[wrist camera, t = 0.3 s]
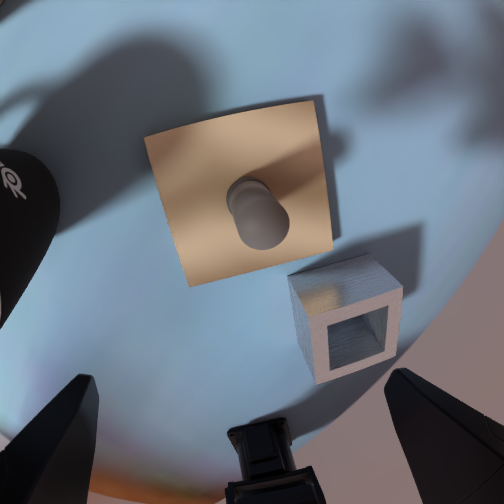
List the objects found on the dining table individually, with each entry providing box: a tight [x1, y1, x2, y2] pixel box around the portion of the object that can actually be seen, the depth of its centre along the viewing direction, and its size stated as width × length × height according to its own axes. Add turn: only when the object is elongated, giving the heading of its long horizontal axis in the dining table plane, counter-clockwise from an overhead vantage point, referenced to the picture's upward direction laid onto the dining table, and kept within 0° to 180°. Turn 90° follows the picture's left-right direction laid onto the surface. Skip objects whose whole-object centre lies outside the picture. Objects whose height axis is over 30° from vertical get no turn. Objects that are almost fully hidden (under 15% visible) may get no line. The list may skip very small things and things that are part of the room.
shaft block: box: [144, 101, 333, 287], centre depth 17 cm, size 10×10×6 cm
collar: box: [287, 254, 403, 385], centre depth 22 cm, size 7×7×5 cm
